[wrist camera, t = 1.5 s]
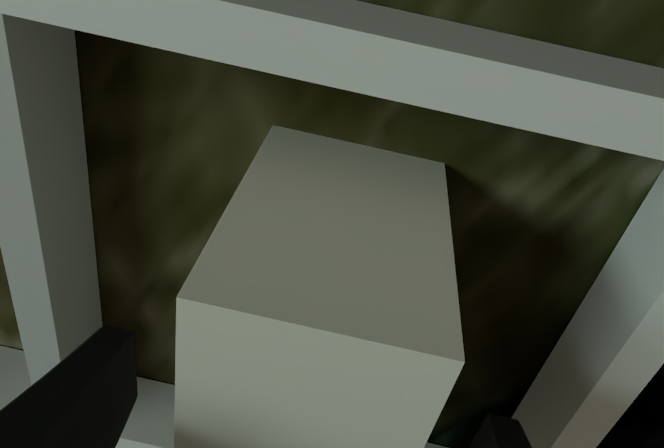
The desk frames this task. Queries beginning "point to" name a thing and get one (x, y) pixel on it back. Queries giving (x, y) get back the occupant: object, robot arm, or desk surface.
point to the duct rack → (348, 74)
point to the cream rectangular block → (321, 304)
